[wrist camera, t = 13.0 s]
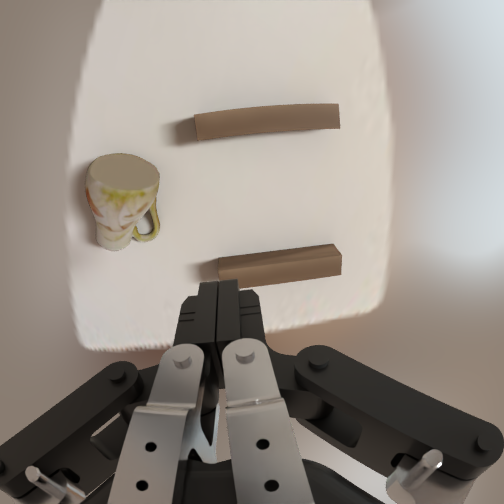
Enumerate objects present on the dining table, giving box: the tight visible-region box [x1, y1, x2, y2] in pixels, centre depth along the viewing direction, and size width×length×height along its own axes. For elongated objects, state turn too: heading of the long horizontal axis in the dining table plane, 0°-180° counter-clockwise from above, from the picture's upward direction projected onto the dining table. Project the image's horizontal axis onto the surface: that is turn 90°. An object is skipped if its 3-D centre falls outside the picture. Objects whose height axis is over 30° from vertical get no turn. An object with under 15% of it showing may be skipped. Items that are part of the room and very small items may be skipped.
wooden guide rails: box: [194, 104, 342, 289], centre depth 29 cm, size 18×13×3 cm
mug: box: [85, 153, 160, 251], centre depth 26 cm, size 8×10×10 cm
